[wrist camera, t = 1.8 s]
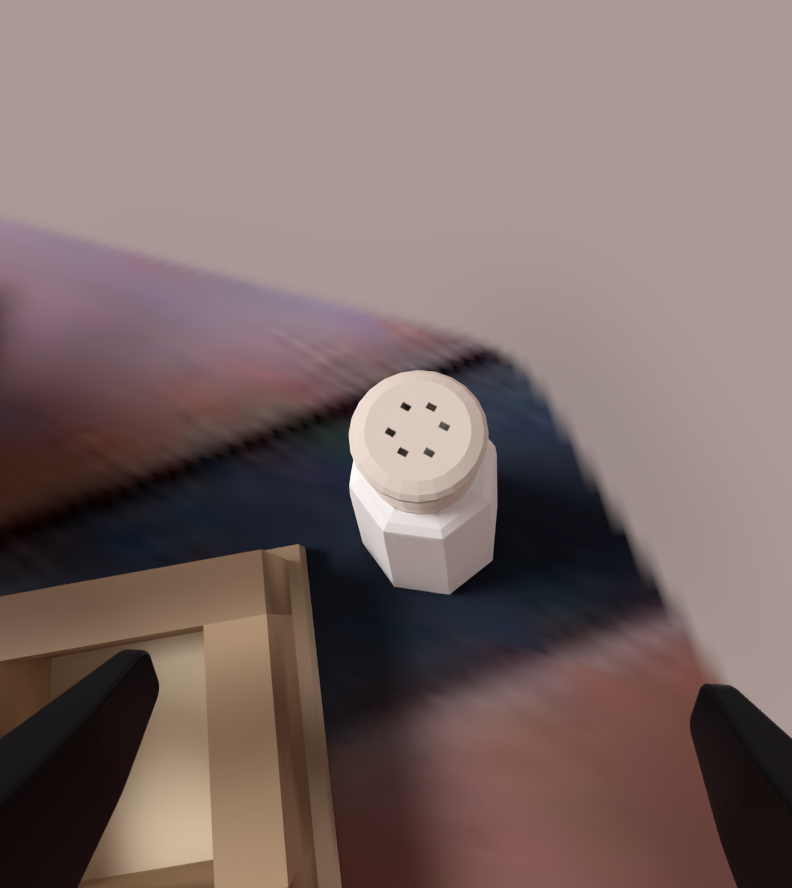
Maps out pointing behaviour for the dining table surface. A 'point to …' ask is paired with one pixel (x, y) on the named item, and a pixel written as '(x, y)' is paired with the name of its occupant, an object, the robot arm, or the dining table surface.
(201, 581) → the socket holder
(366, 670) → the dining table surface
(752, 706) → the robot arm
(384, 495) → the pepper shaker
